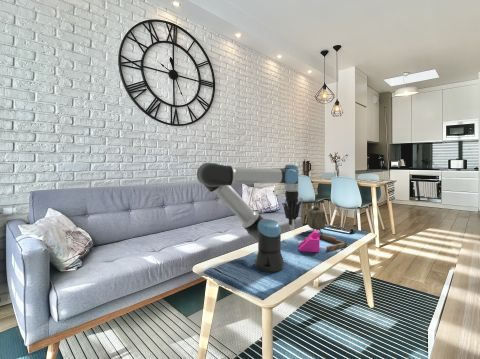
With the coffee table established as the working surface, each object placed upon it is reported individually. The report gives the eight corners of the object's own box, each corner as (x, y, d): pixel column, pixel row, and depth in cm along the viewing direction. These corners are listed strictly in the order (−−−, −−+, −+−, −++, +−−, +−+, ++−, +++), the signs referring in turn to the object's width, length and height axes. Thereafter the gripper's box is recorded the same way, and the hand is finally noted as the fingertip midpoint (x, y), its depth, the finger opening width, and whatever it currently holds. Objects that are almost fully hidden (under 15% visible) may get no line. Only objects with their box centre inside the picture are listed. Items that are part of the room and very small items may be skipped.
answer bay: (328, 251, 149) (328, 246, 149) (303, 241, 168) (303, 236, 168) (346, 246, 156) (346, 241, 156) (321, 237, 175) (321, 232, 175)
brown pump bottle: (324, 235, 179) (325, 201, 177) (312, 235, 180) (312, 201, 178) (318, 229, 194) (319, 198, 192) (307, 230, 194) (307, 198, 192)
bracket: (318, 246, 158) (318, 230, 157) (319, 252, 148) (319, 235, 147) (298, 245, 161) (299, 229, 160) (298, 250, 151) (298, 234, 150)
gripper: (287, 192, 140) (287, 233, 142) (304, 190, 146) (304, 229, 148) (279, 190, 147) (279, 229, 149) (296, 189, 153) (296, 226, 155)
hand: (292, 229), depth 149 cm, fingers closed
